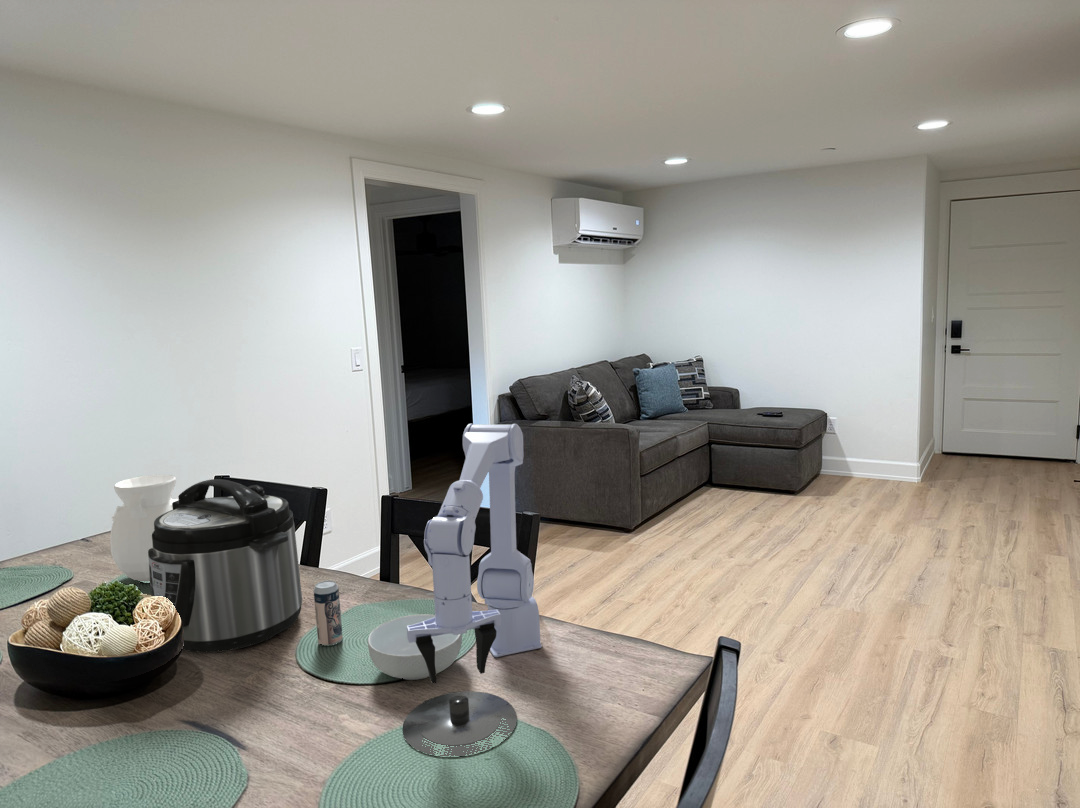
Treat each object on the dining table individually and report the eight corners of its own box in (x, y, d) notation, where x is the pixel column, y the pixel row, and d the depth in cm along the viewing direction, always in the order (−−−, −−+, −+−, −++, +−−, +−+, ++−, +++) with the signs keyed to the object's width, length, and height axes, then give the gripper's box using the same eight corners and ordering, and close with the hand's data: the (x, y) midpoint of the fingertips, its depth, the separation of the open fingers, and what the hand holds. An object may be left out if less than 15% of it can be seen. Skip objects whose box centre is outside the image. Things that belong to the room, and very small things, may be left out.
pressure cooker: (163, 614, 164) (146, 474, 160) (297, 590, 175) (285, 458, 170) (151, 676, 137) (131, 508, 132) (311, 643, 147) (297, 487, 143)
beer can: (336, 648, 145) (331, 589, 143) (313, 647, 146) (308, 588, 144) (347, 637, 149) (342, 580, 148) (325, 636, 150) (320, 579, 149)
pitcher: (134, 566, 195) (123, 474, 192) (207, 561, 197) (197, 469, 194) (101, 594, 177) (87, 492, 173) (181, 588, 179) (170, 487, 175)
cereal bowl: (421, 703, 124) (419, 663, 123) (350, 679, 133) (347, 642, 132) (482, 659, 138) (480, 623, 137) (414, 640, 147) (412, 606, 146)
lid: (498, 686, 129) (497, 663, 129) (532, 742, 112) (531, 717, 112) (394, 709, 123) (392, 685, 123) (414, 772, 106) (412, 745, 106)
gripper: (410, 610, 109) (415, 697, 110) (505, 594, 113) (509, 677, 115) (402, 593, 115) (407, 675, 117) (492, 578, 120) (496, 657, 122)
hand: (457, 675), depth 117 cm, fingers open, 7 cm apart
